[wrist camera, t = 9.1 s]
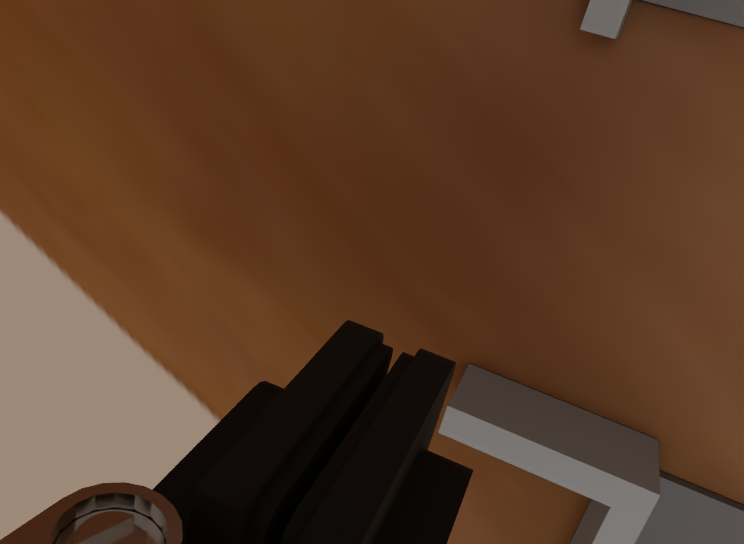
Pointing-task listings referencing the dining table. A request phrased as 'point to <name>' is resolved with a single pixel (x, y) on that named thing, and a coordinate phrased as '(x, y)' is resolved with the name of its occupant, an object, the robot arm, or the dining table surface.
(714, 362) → the dining table surface
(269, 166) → the dining table surface
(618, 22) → the channel
